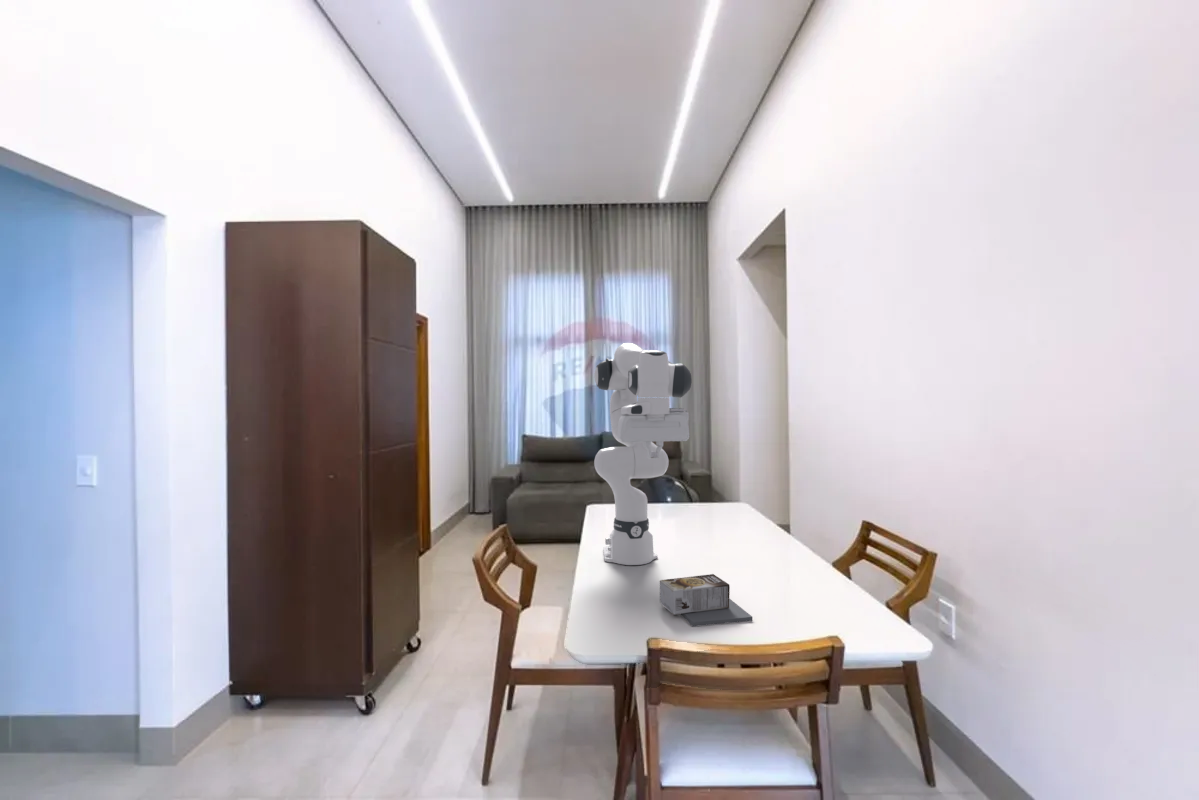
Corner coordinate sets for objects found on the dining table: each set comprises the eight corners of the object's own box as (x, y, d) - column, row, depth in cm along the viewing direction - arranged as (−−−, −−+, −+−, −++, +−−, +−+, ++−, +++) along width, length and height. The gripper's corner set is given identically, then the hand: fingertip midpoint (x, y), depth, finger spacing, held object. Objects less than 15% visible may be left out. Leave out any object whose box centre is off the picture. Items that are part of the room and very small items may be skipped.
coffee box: (659, 579, 145) (712, 573, 150) (659, 603, 145) (712, 596, 150) (673, 590, 136) (730, 583, 141) (673, 615, 136) (730, 608, 141)
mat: (667, 599, 150) (667, 596, 150) (721, 595, 154) (721, 591, 154) (692, 626, 133) (692, 622, 132) (752, 620, 136) (752, 616, 136)
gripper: (684, 407, 156) (684, 455, 156) (615, 407, 152) (615, 457, 152) (693, 408, 150) (692, 458, 150) (621, 408, 146) (621, 459, 146)
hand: (653, 457), depth 151 cm, fingers closed
